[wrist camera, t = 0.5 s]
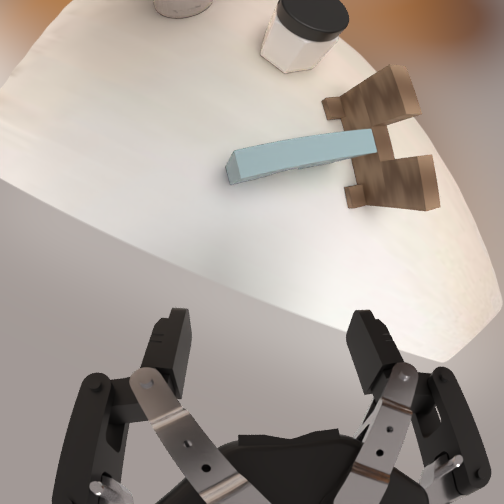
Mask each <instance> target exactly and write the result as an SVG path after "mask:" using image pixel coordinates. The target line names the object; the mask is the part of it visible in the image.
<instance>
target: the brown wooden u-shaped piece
mask: <svg viewBox="0 0 504 504" xmlns="http://www.w3.org/2000/svg"><path fill="white" fill-rule="evenodd" d="M322 103H323V107H324V110H325V113H326V117H327V120H332V119H341V121H342V124H343V128H344V131H352V130H361V129H371V130H372V133H373V137H374V141H375V145H376V149H377V152H376V153H371V154H367V155H362V156H358V157H354V158H351V159H352V163H353V168H354V172H355V177H356V182H357V185H353V186H348V187H344V189H345V194H346V199H347V204H348V208H357V207H361V206H365V205H370V206H381V207H391V208H401V209H410V210H419V211H429V210H432V209H435V208H439V207H440V199H439V192H438V185H437V179H436V173H435V167H434V162H433V157H432V155H424V156H416V157H408V158H401V159H395V158H394V153H393V149H392V145H391V141H390V137H389V133H388V129H387V125H389V124H392V123H395V122H398V121H401V120H405V119H408V118H411V117H414V116H417V115H421V114H422V113H421V109H420V106H419V103H418V100H417V96H416V93H415V90H414V88H413V85H412V82H411V79H410V77H409V74H408V71H407V68H406V67H405V66H397V65H388V66H386V67H385V68H383V69H382V70H380V71H378V72H377V73H375V74H374V75H372V76H370V77H369V78H367V79H366V80H364V81H363V82H361V83H360V84H358V85H357V86H355V87H353V88H352V89H350V90H349V91H348V92H346V93H345V94H343V95H342V96H340V97H329V98H325V99H324V100H322Z"/></svg>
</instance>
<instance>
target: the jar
mask: <svg viewBox="0 0 504 504" xmlns="http://www.w3.org/2000/svg"><path fill="white" fill-rule="evenodd" d="M348 23H349V15H348V12H347V10H346V8H345V6H344V5H343V4H342V3H341V2H340V1H339V0H279V1H278V4H277V6H276V8H275V11H274V13H273V15H272V18H271V20H270V23H269V25H268V27H267V30H266V32H265V36H264V40H263V44H262V48H261V53H260V55H261V56H263V57H264V58H265V59H267V60H268V61H269V62H271V63H272V64H273V65H274V66H276V67H277V68H278V69H280V70H281V71H282V72H283V73H290V72H296V71H302V70H309V69H313V68H314V66H315V65H316V64H317V63H318V62H319V61H320V60H321V59H322V58H323V57H324V55H325V54H326V53H327V52H328V51H329V50H330V49H331V48H332V47H333V46H334V45H335V44H336V43H337V42H338V38H339V34H340V33H341V32H342V31H343V30H344V29H345V28H346V27H347V25H348Z"/></svg>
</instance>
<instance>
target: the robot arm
mask: <svg viewBox="0 0 504 504" xmlns="http://www.w3.org/2000/svg"><path fill="white" fill-rule="evenodd" d="M153 1H154V6H155V9H156V10H157V12H159V13H160V14H161V15H163V16H166V17H171V18H184V17H189V16H193V15H196V14H198V13H201V12H202V11H204V10H205V9H207V8H208V7H209V6H210V4H211V3H212V1H213V0H153ZM191 340H192V332H191V325H190V317H189V310H188V309H184V308H172V310H171V313H170V316H169V318H161V319H160V320H159V321H158V322H157V323H156V324H155V326H154V328H153V331H152V335H151V337H150V340H149V343H148V346H147V349H146V352H145V355H144V358H143V361H142V364H141V367H140V369H138V370H136V371H135V372H134V373H133V374H132V375H131V376H130V377H128V378H123V379H114V380H110V379H109V378H108V377H107V376H106V375H105V374H103V373H92V374H90V375H88V376H87V377H86V378H85V379H84V380H83V382H82V385H81V387H80V390H79V393H78V396H77V399H76V402H75V405H74V408H73V412H72V415H71V418H70V422H69V425H68V429H67V432H66V436H65V439H64V443H63V447H62V451H61V456H60V460H59V464H58V469H57V474H56V479H55V484H54V490H53V496H52V504H134V503H133V497H132V494H131V492H130V491H129V490H128V489H127V488H126V487H125V486H123V485H121V474H122V467H123V460H124V453H125V447H126V440H127V434H128V429H129V423H132V422H140V421H148V420H149V422H150V424H151V425H152V427H153V429H154V430H155V432H156V434H157V435H158V437H159V438H160V440H161V442H162V443H163V445H164V446H165V448H166V449H167V451H168V452H169V454H170V455H171V457H172V458H173V460H174V461H175V462H176V464H177V466H178V467H179V468H180V470H181V471H182V473H183V474H184V475H185V478H184V479H183V480H182V481H181V482H180V483H179V484H178V485H177V486H175V487H174V488H173V489H172V490H171V491H170V492H169V493H167V494H166V495H165V496H164V497H163V498H162V499H161V500H159V501H158V502H157V503H156V504H450V503H452V502H454V501H457V500H459V499H461V498H463V497H465V496H467V495H469V494H471V493H473V492H475V491H477V490H479V489H481V488H482V487H484V486H485V485H486V484H487V483H488V481H489V480H490V477H491V468H490V464H489V461H488V457H487V454H486V451H485V448H484V445H483V443H482V439H481V437H480V434H479V431H478V429H477V426H476V423H475V421H474V418H473V416H472V413H471V411H470V409H469V406H468V404H467V402H466V399H465V397H464V395H463V393H462V390H461V388H460V386H459V384H458V382H457V380H456V378H455V376H454V374H453V372H452V371H451V370H449V369H448V368H446V367H438V368H436V369H435V370H434V371H433V372H432V374H430V373H420V372H417V370H416V368H415V367H414V366H412V365H411V364H409V363H406V362H404V361H403V359H402V357H401V355H400V352H399V350H398V348H397V346H396V344H395V343H394V341H393V339H392V337H391V335H390V333H389V331H388V329H387V327H386V325H384V324H383V323H382V322H381V321H380V320H379V319H375V318H374V316H373V314H372V312H371V311H370V310H356V311H355V312H354V313H353V316H352V319H351V322H350V325H349V328H348V331H347V334H346V342H347V345H348V348H349V351H350V354H351V356H352V360H353V362H354V365H355V368H356V371H357V374H358V377H359V380H360V383H361V386H362V389H363V392H364V394H365V395H366V394H373V396H374V398H373V400H372V401H371V403H370V406H369V408H368V410H367V412H366V414H365V416H364V418H363V420H362V422H361V424H360V427H359V428H358V430H357V432H356V433H355V435H354V436H353V438H352V437H349V436H346V435H340V434H339V430H338V429H331V430H324V431H315V432H312V433H309V434H306V435H303V436H300V437H297V438H293V439H285V438H279V437H273V436H267V435H238V441H233V442H230V443H227V444H225V445H222V446H220V447H219V448H216V446H215V445H214V444H213V443H212V441H211V440H210V439H209V438H208V436H207V435H206V434H205V433H204V432H203V430H202V429H201V427H200V426H199V425H198V423H197V422H196V421H195V419H194V418H193V417H192V415H191V414H190V413H189V412H188V411H187V410H186V409H184V408H183V407H182V406H181V404H180V403H179V401H178V400H177V399H182V393H183V387H184V381H185V375H186V370H187V363H188V358H189V352H190V347H191ZM436 406H437V409H438V411H439V414H440V417H441V422H440V419H439V416H438V413H437V411H436V408H435V407H436ZM410 421H412V424H413V428H414V431H415V434H416V438H417V441H418V445H419V448H420V452H421V456H422V460H423V464H424V470H423V471H422V474H421V479H420V480H419V484H418V483H417V482H415V481H414V480H412V479H411V478H409V477H408V476H407V475H405V474H404V473H402V472H401V471H399V470H398V469H397V468H395V467H394V464H395V462H396V460H397V457H398V455H399V452H400V450H401V447H402V444H403V441H404V439H405V436H406V433H407V430H408V427H409V424H410Z"/></svg>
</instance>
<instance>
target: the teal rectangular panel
mask: <svg viewBox="0 0 504 504" xmlns="http://www.w3.org/2000/svg"><path fill="white" fill-rule="evenodd" d="M376 152H377V149H376V145H375V141H374V137H373V133H372V130H371V129H361V130H352V131H343V132H335V133H327V134H320V135H313V136H306V137H300V138H294V139H288V140H283V141H277V142H272V143H267V144H262V145H257V146H253V147H248V148H243V149H239V150H235V151H234V152H233V154H232V155H231V157H230V159H229V161H228V163H227V165H226V170H227V174H228V178H229V182H230V185H233V184H237V183H241V182H245V181H249V180H253V179H257V178H261V177H266V176H269V175H271V174H274V173H277V172H281V171H286V170H291V169H295V168H298V169H303V168H308V167H313V166H318V165H323V164H328V163H333V162H337V161H341V160H345V159H349V158H354V157H358V156H362V155H367V154H371V153H376Z"/></svg>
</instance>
